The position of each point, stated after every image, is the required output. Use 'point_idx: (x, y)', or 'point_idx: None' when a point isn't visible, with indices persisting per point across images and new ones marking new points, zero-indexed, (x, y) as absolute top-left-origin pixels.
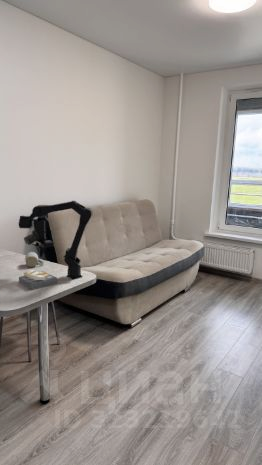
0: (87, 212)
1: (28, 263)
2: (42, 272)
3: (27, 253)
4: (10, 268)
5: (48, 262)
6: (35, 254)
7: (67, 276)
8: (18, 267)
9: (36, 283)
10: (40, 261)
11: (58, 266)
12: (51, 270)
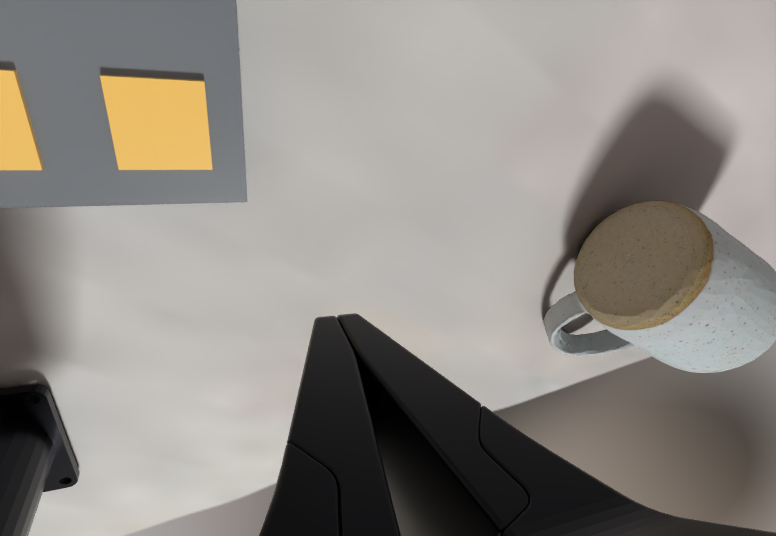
0: None
1: (645, 218)
2: (167, 157)
3: None
4: (760, 32)
5: (556, 386)
6: (693, 357)
7: (7, 390)
8: (701, 122)
9: None
10: (602, 342)
11: None
12: None
